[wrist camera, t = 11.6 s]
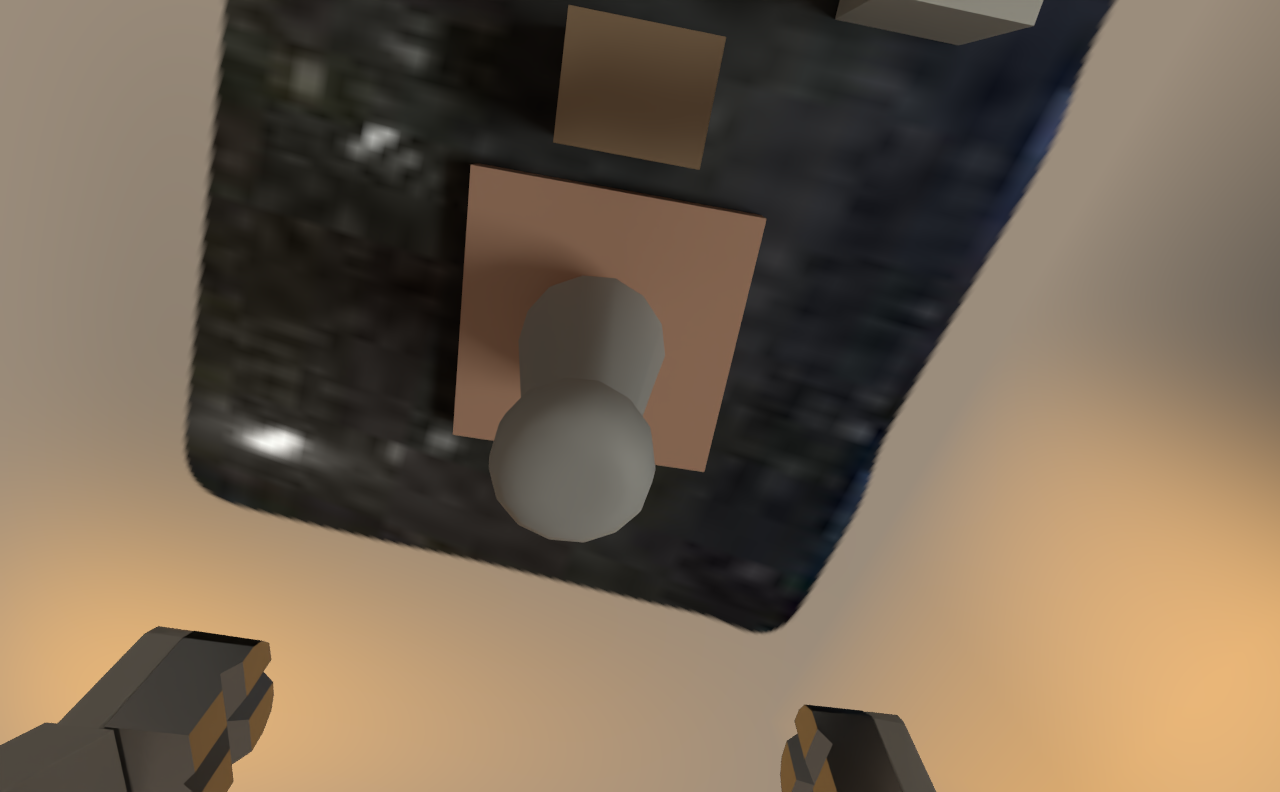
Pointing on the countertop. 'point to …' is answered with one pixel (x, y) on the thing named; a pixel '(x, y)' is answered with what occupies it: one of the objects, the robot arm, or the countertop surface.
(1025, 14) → the pale grey block
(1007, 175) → the countertop surface
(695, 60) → the walnut block
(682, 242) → the terracotta tile
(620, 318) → the salt shaker
